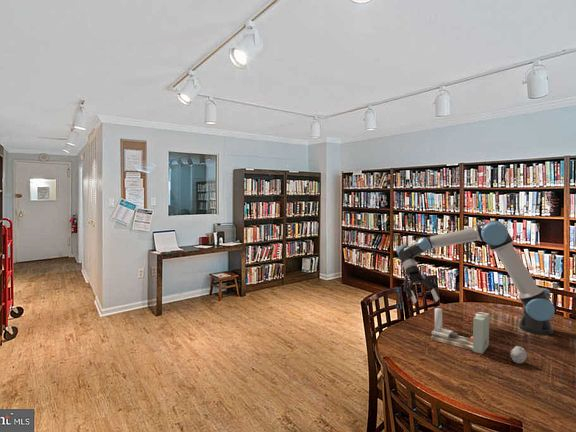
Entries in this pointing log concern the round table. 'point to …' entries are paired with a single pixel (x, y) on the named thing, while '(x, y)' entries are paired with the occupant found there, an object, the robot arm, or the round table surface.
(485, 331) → the gauge cabinet
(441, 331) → the carriage
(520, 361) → the grey round lump
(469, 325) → the round table surface
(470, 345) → the rail track
